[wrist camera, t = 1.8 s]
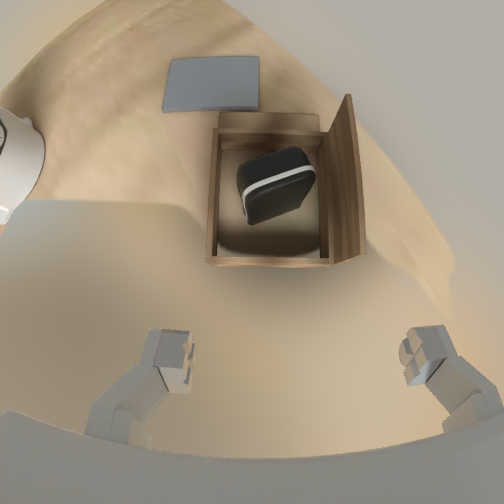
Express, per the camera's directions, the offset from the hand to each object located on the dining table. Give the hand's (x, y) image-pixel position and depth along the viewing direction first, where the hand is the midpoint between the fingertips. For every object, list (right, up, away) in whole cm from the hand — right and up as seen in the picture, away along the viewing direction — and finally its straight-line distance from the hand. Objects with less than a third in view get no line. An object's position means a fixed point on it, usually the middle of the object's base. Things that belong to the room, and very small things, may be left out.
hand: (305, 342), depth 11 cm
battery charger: (0, +9, +26) cm, 28 cm away
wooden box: (0, +12, +27) cm, 29 cm away
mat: (-8, +27, +28) cm, 40 cm away
